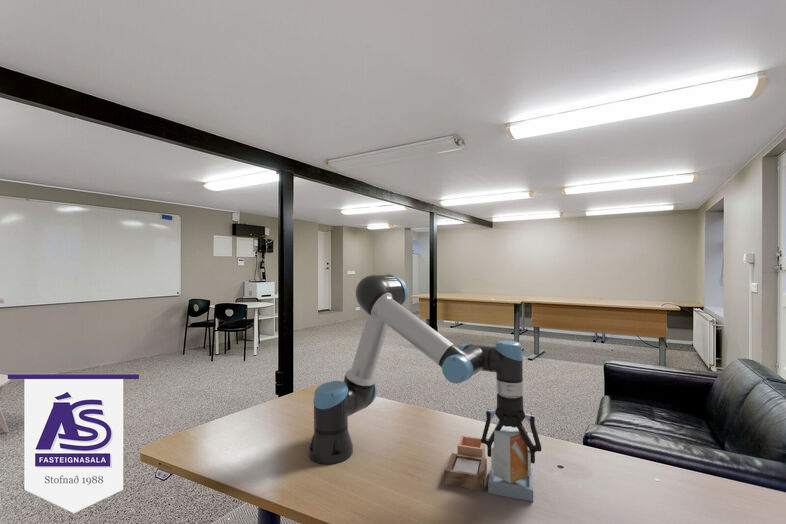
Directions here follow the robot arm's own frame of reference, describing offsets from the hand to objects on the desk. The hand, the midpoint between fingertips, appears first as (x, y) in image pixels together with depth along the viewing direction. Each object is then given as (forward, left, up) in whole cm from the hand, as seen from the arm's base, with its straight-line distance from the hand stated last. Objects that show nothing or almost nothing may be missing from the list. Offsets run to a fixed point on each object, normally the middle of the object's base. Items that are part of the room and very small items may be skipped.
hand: (511, 470), depth 109 cm
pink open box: (-13, +11, -4) cm, 17 cm away
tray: (0, 0, -4) cm, 4 cm away
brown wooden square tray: (-13, 0, -4) cm, 14 cm away
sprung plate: (-13, 0, -2) cm, 13 cm away
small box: (0, 0, -2) cm, 2 cm away
